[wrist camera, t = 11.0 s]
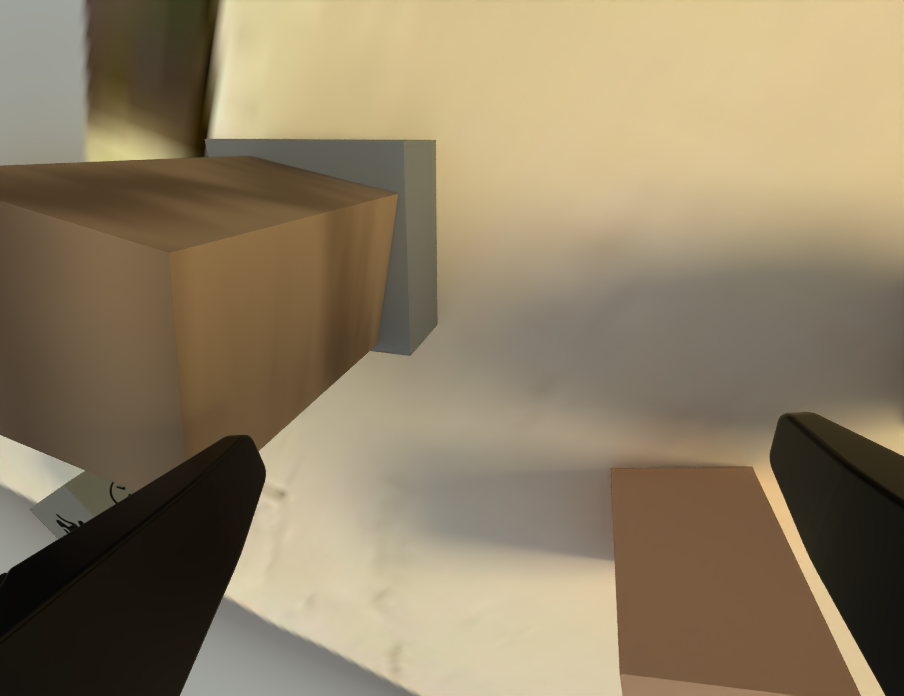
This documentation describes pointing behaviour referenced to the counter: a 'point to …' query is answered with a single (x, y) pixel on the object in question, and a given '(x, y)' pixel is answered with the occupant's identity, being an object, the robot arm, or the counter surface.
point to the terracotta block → (713, 591)
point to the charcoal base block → (414, 228)
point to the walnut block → (179, 303)
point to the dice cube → (78, 502)
